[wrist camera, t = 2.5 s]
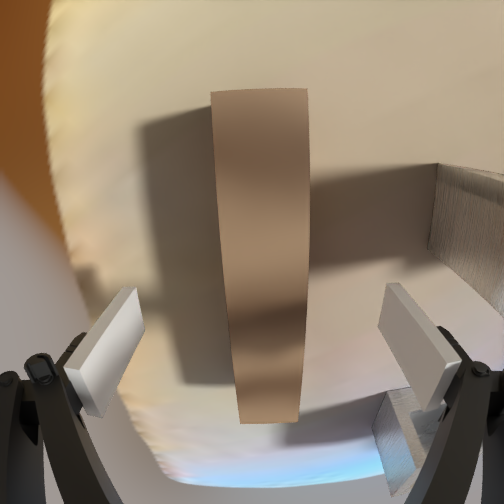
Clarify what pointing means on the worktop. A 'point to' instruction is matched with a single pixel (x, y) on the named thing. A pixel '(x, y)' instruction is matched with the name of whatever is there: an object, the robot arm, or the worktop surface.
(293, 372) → the rail
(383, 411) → the bracket
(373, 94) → the worktop surface
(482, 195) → the bracket
